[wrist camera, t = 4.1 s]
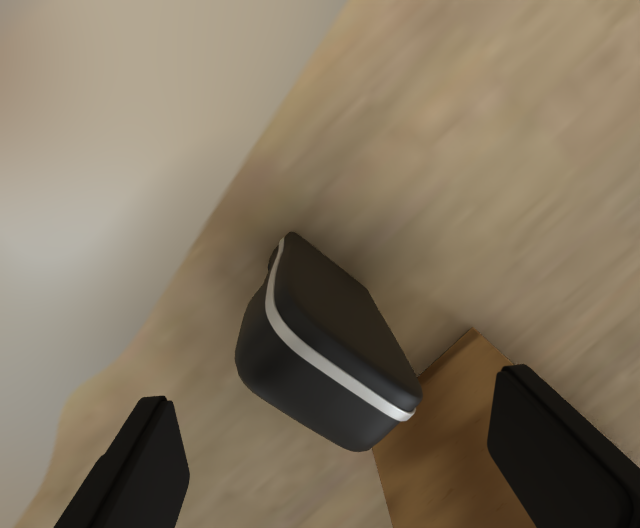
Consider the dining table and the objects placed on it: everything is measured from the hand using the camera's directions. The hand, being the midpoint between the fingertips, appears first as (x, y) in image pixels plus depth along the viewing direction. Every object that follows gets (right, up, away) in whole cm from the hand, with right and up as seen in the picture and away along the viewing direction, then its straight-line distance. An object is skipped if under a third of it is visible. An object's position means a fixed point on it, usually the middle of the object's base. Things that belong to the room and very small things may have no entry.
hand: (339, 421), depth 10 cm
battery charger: (-1, +3, +12) cm, 13 cm away
